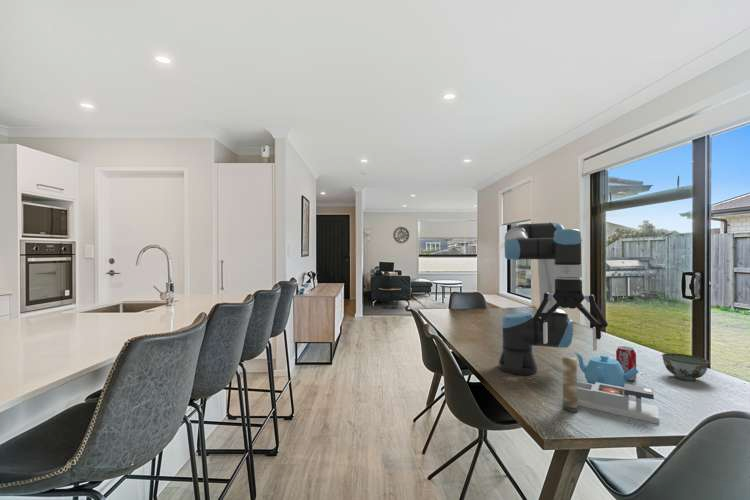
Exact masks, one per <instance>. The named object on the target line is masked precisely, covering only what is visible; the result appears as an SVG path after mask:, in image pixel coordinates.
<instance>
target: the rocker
mask: <svg viewBox="0 0 750 500" xmlns="http://www.w3.org/2000/svg"><path fill="white" fill-rule="evenodd" d="M623 387H624V394H627V395H629V396H632V397H636V396H637V397H641V398H642V399H643V398H644V399H649V400H654V399H655V398H654V397H655V394H654V388H652V387H647V386H642V385H637V384H630V383H625V384H624V385H623Z"/></svg>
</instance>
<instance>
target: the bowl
mask: <svg viewBox="0 0 750 500" xmlns="http://www.w3.org/2000/svg"><path fill="white" fill-rule="evenodd" d="M661 357H662V361H663V364H664V367H665V368H666V369H667V370H668V372H669V373H671V375H672V374H673V376H674V378H676V379H678V380H681V381H684V382H685V381H686V382H695V381H696V379H700V378H701V377H703V376H704V375H705V374H706V372H707V371H708V366H709V364H710V362H709V360H707V359H706V358H702V357H700V356H696V355H690V354H683V353H677V352H676V353H671V352H670V353H669V352H668V353H667V352H666V353H662V354H661ZM667 370H666V371H667Z"/></svg>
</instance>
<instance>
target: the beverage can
mask: <svg viewBox="0 0 750 500" xmlns="http://www.w3.org/2000/svg"><path fill="white" fill-rule="evenodd" d="M615 360H617V361H619V363H620V365H621V366H622V368H623V371H624V374H625V373H626V372H628V371H629V370H630V369H632V368H633V367H634V368H635V369H637V353H636V351H635V348H633V347H630V346H625V345H623V346H622V345H621V346H617V349H616V350H615ZM636 380H637V374H636V375H634V376H633V377H631V378H629V379H628V380H626V381H627V382H633V381H636Z"/></svg>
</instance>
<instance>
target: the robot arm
mask: <svg viewBox="0 0 750 500" xmlns="http://www.w3.org/2000/svg"><path fill="white" fill-rule="evenodd" d="M582 242H583V240H582V235H581V231H580V229H576V228H570V229H569V228H566V229H565V228H564V226H563V225H562V224H561V223H560V222H542V223H541V222H539V223H538V222H537V223H522V224H521V223H520V224H518V225H515V226H513V227H511V228H509V229H508V230H507V231H506V233H505V234H504V258H505V259H506V260H513V261H518V260H537V270H538V274H537V275H538V290H539V291H538V292H539V307H538V308H537V310H536V312H535V314H534V316H533V315H532V314H531V313H529V312H517V313H509V314H506V315H504V316H503V317H502V321H501V322H502V325H501V328H502V351H501V354H500V357H499V360H498V369H499V368H500V369H499V370H500V371H503V372H504V373H508V374H513V375H517V376H518V375H519V376H523V375H524V376H526V375H527V376H529V375H535V374H536V373H538V365H537V362H536V360H535V359H536V358H535V356H534V353H533V346H535V347H546V348H556V349H558V348H560V349H561V348H565V349H566V348H569V347H570V346H571V345H572V341H573V336H574V322H573V320H572V319H571V318H569V315H568V312H566V311H565V310H564V309H573V310H574V309H577V310H578V311H579V312H581V314H583V315H584V316H585V318H586V319H587V320H588V321H589V322H590V323H591V324H592V325H593V327H592V351H595V352H596V351H598V341H597V340H601V337H602V329H603V328H607V327H608V325H609V323H608V321H607V320H606V317H605V315H603V312H602V311H601V309H600V308H599V306H598V304H597V302H596V299H595V298H596V297H595V295H594V294H589V295H585V294H583V280H582V279H580V278H582V277H583V265H582ZM584 300H586V302H587V303H589V305H590V306H591V308H592V310H593V312H594V313H595V315H596V317H597V318H598V320H599V321H600V322H599V321H598V320H597V319H596V317H594V316H593V314H591V313H590V311H588V309H587V308H586V307H585V306H584V305H583V303H582V302H583V301H584Z"/></svg>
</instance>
